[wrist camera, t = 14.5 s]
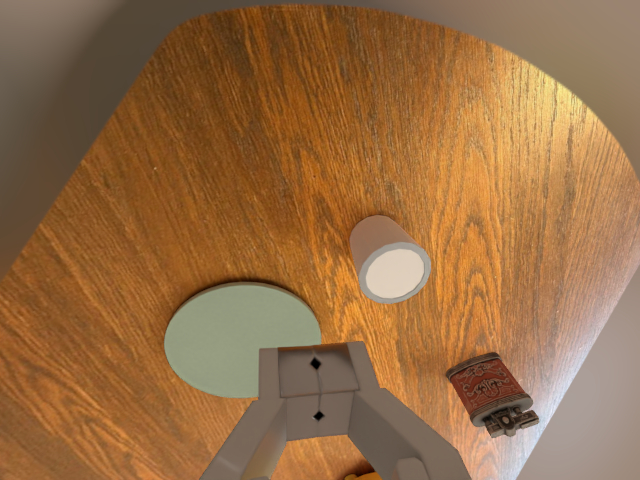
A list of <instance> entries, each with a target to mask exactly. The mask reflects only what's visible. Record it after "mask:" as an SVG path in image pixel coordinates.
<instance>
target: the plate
mask: <svg viewBox="0 0 640 480" xmlns="http://www.w3.org/2000/svg"><path fill="white" fill-rule="evenodd" d="M320 344H321V332H320V326H319V323H318V320H317V318H316V316H315V314H314V313H313V311H312V310H311V309H310V307H309V306H308V305H307V304H306V303H305V302H304V301H303V300H301V299H300V298H299V297H297V296H296V295H294V294H293V293H291V292H289V291H287V290H285V289H282V288H279V287H277V286H273V285H269V284H265V283H258V282H234V283H227V284H222V285H218V286H215V287H212V288H209V289H206V290H204V291H202V292H200V293H198V294H196V295H195V296H193V297H191V298H190V299H189V300H187V301H186V302H185V303H183V304H182V305H181V306H180V307H179V309H178V310H177V311H176V312H175V313H174V315H173V316H172V318H171V320H170V322H169V324H168V326H167V329H166V333H165V337H164V349H165V354H166V357H167V360H168V362H169V364H170V366H171V368H172V369H173V370H174V372H175V373H176V374H177V375H178V376H179V377H180V378H181V379H182V380H184V381H185V382H186V383H188V384H189V385H191V386H193V387H194V388H196V389H198V390H201V391H203V392H206V393H209V394H212V395H216V396H221V397H228V398H251V397H258V375H259V349H260V348H277V350H278V347H294V346H312V345H320Z"/></svg>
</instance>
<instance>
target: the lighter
mask: <svg viewBox="0 0 640 480" xmlns="http://www.w3.org/2000/svg"><path fill="white" fill-rule="evenodd" d="M446 376H447V378H448V380H449V382H450V383H451V384H452V385H453V386H454V388H455V390H456V392H457V394H458V395H459V397H460V399H461V401H462V403H463V404H464V406H465V408H466V410H467V412H468V414H469V415H470V420H471V422H472V424H473V425H474V426H476V427H481V426H486V428H487V431H488V432H489V434H490V436H491V438H496V437H498V436H501V435H507V436H509V437H511V436H514V435H515V434H516V430H518V429H520V428H521V429H524V428H527V427H530V426H533V425H535V424H538V423H539V417H538V416H537V415H536V413H535V412H534V411H533V410H530V411H527V412H525V413H522V412H523V411H525V410H527V409H529V408H530V407H531V406H532V404H533V400H532V399H531V397H530V396H529V395H528V394H527V393H525V392H524V390H523V389H522V388H521V386H520V385H519V384H518V382H517V381H516V380H515V378H514V377H513V376H512V374H511V373H510V372H509V370H508V369H507V368H506V366H505V365H504V364H503V362H502V359H501V358H500V356H499V355H498V354H497V353H489V354H485V355H481V356H478V357H475V358H472V359H470V360H467V361H465V362H463V363H460V364H458V365H457V366H455V367H453V368H451V369H449V370H448V371H447V373H446ZM515 415H516V416H515ZM512 416H514V417H512ZM493 423H494V424H493Z"/></svg>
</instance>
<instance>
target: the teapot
mask: <svg viewBox="0 0 640 480" xmlns="http://www.w3.org/2000/svg"><path fill="white" fill-rule="evenodd" d="M345 480H383V479H382V478H381V477H380V476H379V474H378V473H377V472H376V471H375V469H374V473H369V474H365V475H362V476H359V477H357V476H356V475H354V474H352V475H348V476H346V477H345Z"/></svg>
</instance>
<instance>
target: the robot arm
mask: <svg viewBox="0 0 640 480" xmlns="http://www.w3.org/2000/svg"><path fill="white" fill-rule="evenodd" d="M347 434H348V437H349V438H350V439H351V441H352V442H353V443H354V444H355V446H356V447H357V448H358V449H359V451H360V452H361V453H362V454H363V456H364V457H365V458H366V459H367V461H368V462H369V463H370V464H371V466H372V467H373V468H374V469H375V471H376V472H377V473H378V474H379V476H380V477H381V478H382V479H383V480H472V479H471V477H470V475H469V473H468V471H467V469H466V467H465V465H464V463H463V460H462V458H461V456H460V454H459V452H458V450H457V449H455V448H454V447H453V446H452V445H451V444H450V443H449V442H447V441H446V440H445V439H444V438H443V437H442V436H440V435H439V434H438V433H437V432H436V431H435V430H433V429H432V428H431V427H430V426H429V425H428V424H426V423H425V422H424V421H423V420H422V419H421V418H419V417H418V416H417V415H416V414H415V413H414V412H413V411H411V410H410V409H409V408H408V407H407V406H406V405H404V404H403V403H402V402H401V401H400V400H399V399H397V398H396V397H395V396H394V395H393V394H392V393H390V392H389V391H388V390H387V389H386V388H380V387H379V384H378V381H377V378H376V375H375V372H374V369H373V366H372V363H371V360H370V358H369V355H368V352H367V349H366V346H365V343H364V342H363V341H356V342H346V343H345V342H343V343H331V344H320V345H312V346H294V347H278V350H277V348H260V349H259V375H258V400H256V401H252V403H251V404H250V406H249V407H248V409H247V410H246V412H245V413H244V414H243V416H242V417H241V419H240V420H239V422H238V423H237V425H236V426H235V428H234V429H233V431H232V432H231V434H230V435H229V436H228V438H227V439H226V441H225V442H224V444H223V445H222V447H221V448H220V450H219V451H218V453H217V454H216V455H215V457H214V458H213V460H212V461H211V463H210V464H209V466H208V467H207V469H206V470H205V472H204V473H203V475H202V476H201V477H200V479H199V480H270V478H271V476H272V474H273V472H274V469H275V467H276V465H277V463H278V461H279V459H280V456H281V454H282V452H283V450H284V448H285V446H286V441H293V440H300V439H307V438H314V437H324V436H335V435H347Z"/></svg>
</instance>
